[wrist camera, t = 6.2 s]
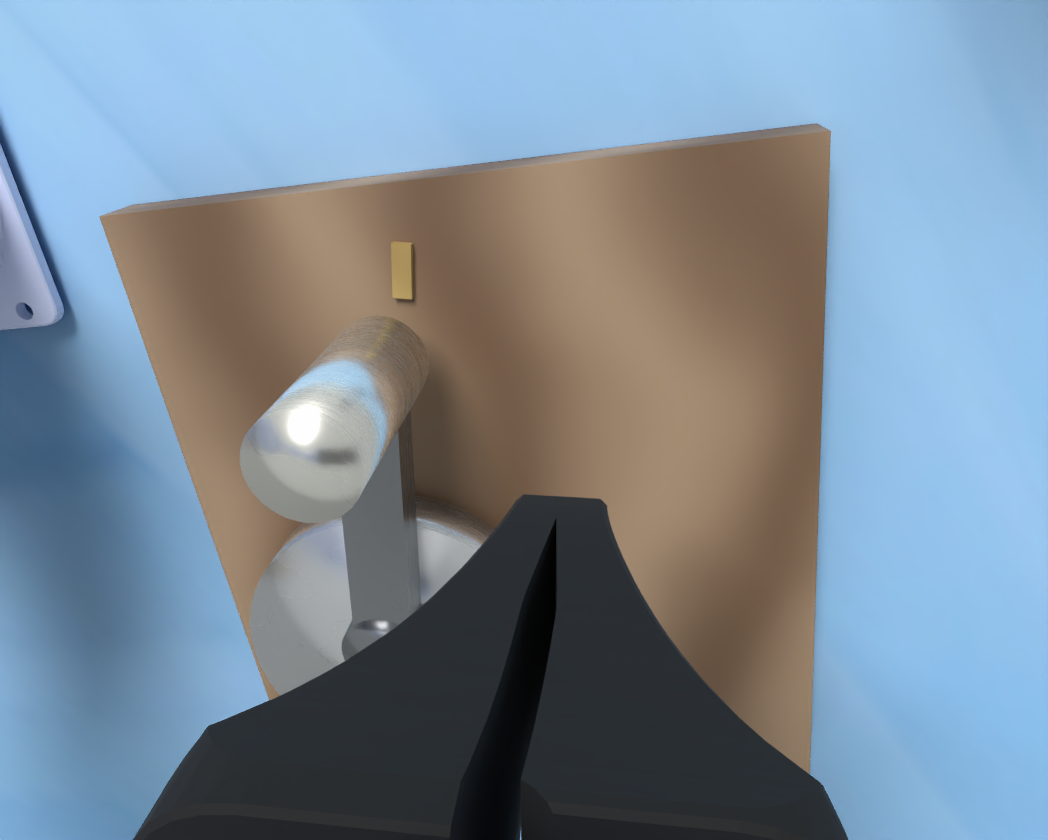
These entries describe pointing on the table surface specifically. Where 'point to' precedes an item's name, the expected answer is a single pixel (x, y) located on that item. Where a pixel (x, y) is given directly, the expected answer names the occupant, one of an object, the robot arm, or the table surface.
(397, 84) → the table surface
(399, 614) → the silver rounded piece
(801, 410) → the stand board
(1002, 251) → the table surface
